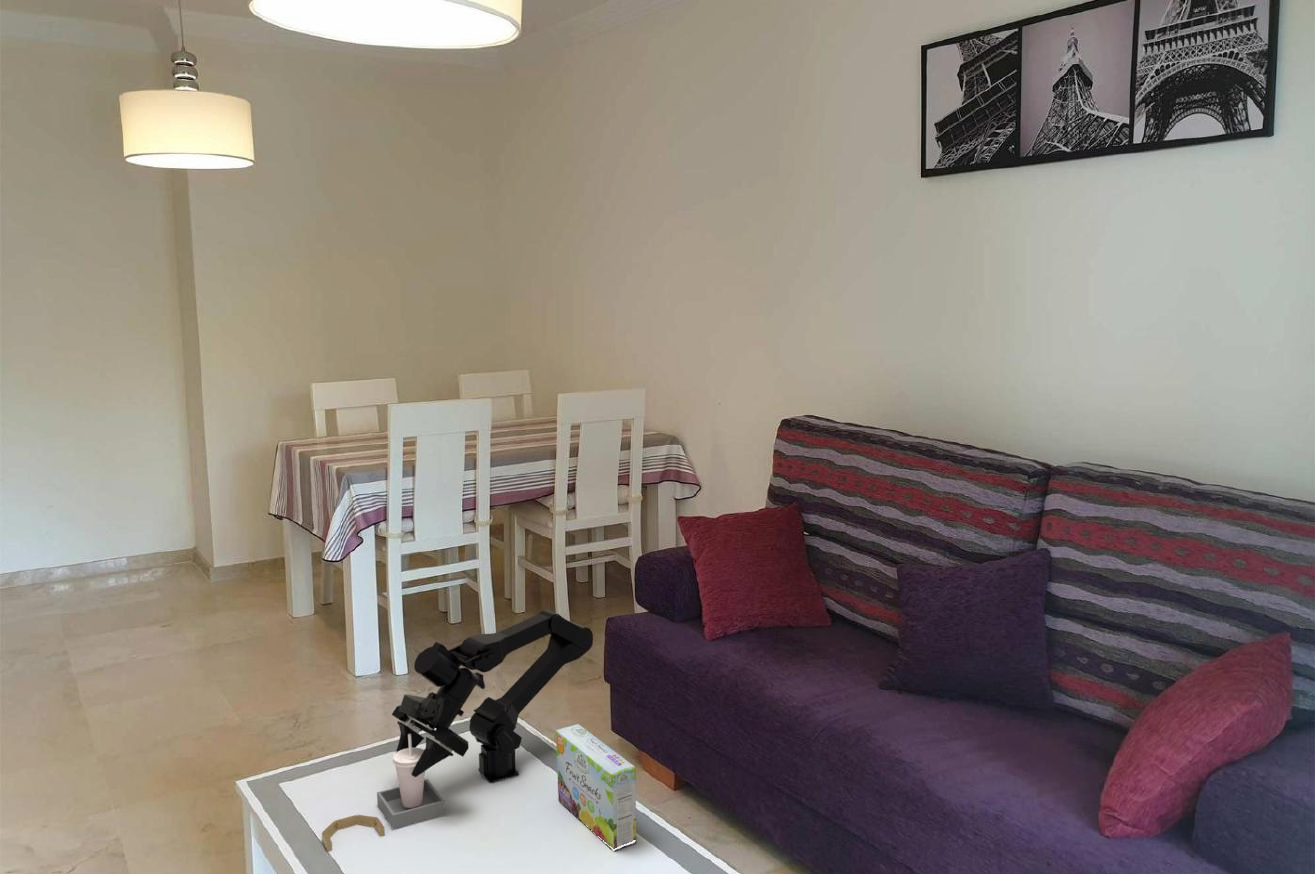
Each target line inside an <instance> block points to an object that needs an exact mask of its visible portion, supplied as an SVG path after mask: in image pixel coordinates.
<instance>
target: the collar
mask: <svg viewBox="0 0 1315 874" xmlns="http://www.w3.org/2000/svg"><path fill="white" fill-rule="evenodd" d="M357 824H358V825H357ZM356 825H357V826H365V827H373V828H375V830H376V831H377V833H378V834H379V836H380V837H383V836H385V835H386V834H385V833H386V832H385V830H386V829H385V826H384V825H383V822H382V821H381V820H380V818H379V817H376V816H372V815H371V816H369V815H362V814H354V815H351V816H347V817H343V818H339V819H336V820H334V821H332V822H331V824H329V825H328V826H327V827H326V828H324V830H323V831H322V832H321V839H322V840H321V841H322V843H324V844H323V845H324V848H325V849H326V852H330V850H331V851H333V843H332V840H331V837H332V836H333V835H334V834H335V833H336V832H337V831H338V830H343V829H346V828H350V827H354V826H356Z"/></svg>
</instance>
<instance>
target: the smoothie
mask: <svg viewBox="0 0 1315 874" xmlns="http://www.w3.org/2000/svg"><path fill="white" fill-rule="evenodd" d="M408 743H409V748H406V749H403V750H400V751H398V752H396V751H395V753H394V754H393V755H392V763H393V765H394V767H395V772H396V777H397V783H398V787H399V788H400V794H401V799H402V804H403V806H404V807H408V808H412V807H416V806H419V805H420V804H421V803H422V799H423V787H424V780H425V772H426V771H424V772H423V773H421V774H420V775H418V776H417V777H414V776H412V772H413V770H414V767H415V766H416V764H417V762H418V760H419V759H420V757H421V755H422V753H423V752H424V750H425V749H424V748H422V747H416V748H412V743H411V734H408Z"/></svg>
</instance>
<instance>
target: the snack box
mask: <svg viewBox="0 0 1315 874" xmlns="http://www.w3.org/2000/svg"><path fill="white" fill-rule="evenodd" d="M555 736H556V739H555V740H556V743H555V744H556V765H557V766H556V770H557V771H556V772H557V792H558V795H557V797H558V798H557V799H558V802H559V801H560V802H561V803H562V804H561V805H562V806H564V808H566V809H567V810H568V811H569V810H570V811H571V812H572V813H573V814H574V815H575V816H576V817H575V816H574V815H573V814H572V813H571V812H570V811H569V812H570V813H571V814H572V815H573V816H574V817H575V818H576V819H578V820H579V819H580V820H581V821H582V822H583V823H584V824H585V825H587V826H588V828H590V829H591V830H592V831H593V832H594V833H595V834H596V835H597V836H599V837H600V838H601V839H602V840H604V842H606V843H607V844H608V845H609V846H611V847H612V848H613V849H615V848H617V847H619V846H621V845H624V844H627V843H629V842H632V841H633V840H636V841H637V802H636V801H637V794H636V793H637V790H636V788H637V787H636V786H637V785H636V781H637V780H636V766H635V765H633V764H632V763H630V762H629V760H626V758H624V757H623V756H621V755H620V754H619V753H618V752H616V751H615V750H614V749H612V748H611V747H609V746H608V745H606V744H605V743H604V742H603V741H601V740H600V739H598V737H596V736H595V735H593V734H592V733H591V732H590V731H588V730H587V729H586V728H584V727H583V726H582V725H580V724H579V723H577V724H576V723H575V724H572V725H570V726H565V727H563V728H559V729H556V730H555ZM560 802H559V803H560ZM580 820H579V821H580ZM581 821H580V822H581ZM582 822H581V823H582ZM583 823H582V824H583ZM584 824H583V825H584ZM585 825H584V826H585ZM588 828H587V829H588ZM590 829H589V830H590ZM591 830H590V831H591ZM592 831H591V832H592ZM593 832H592V833H593ZM594 833H593V834H594ZM595 834H594V835H595ZM596 835H595V836H596ZM597 836H596V837H597Z"/></svg>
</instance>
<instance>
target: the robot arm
mask: <svg viewBox="0 0 1315 874" xmlns="http://www.w3.org/2000/svg"><path fill="white" fill-rule="evenodd" d="M548 635H550V636H549V640H548V644H547V648H546V649H545V650H544V652H543V653H542V654H541V655H540V656H539V657H538V658H537V659H536V661H534V663H532V665H530V667H529V668H528V669H527V670H526V671H525V672H524V673H523V674H522V675H521V676H520V677H519V678H518V679H517V680H516V682H514V683H513V685H512V686H511V687H509V689H508V690H506V692H505V693H504V694H503V695H502V696H501V697H499V698H496V699H494V698H492V697H489V696H487V697H485V698H484V700H483V701H482V702H481V704H480V705H479V706H478V707H477V708H475V709H474V710H473V712H474V713H473V715H471V717H470V719H469V725H468V726H469V731H470V734H471V735H472V736H473V737H474V738H475V741H476V742H477V743H480V744H481V745H480V752H479V754H478V769H477V770H478V772H479V774H481V775H482V777H484V778H485V780H486V781H488V783H495V782H498V781H502V780H507V779H509V778H514V777H517V776H519V775H520V772H519V771H518V770H517V769H516V750H517V749H519V748H520V747H521V743H522V739H523V738H522V736H521V735H519V733H517V732H515V729H516V727H517V723H518V720H519V716H520V713H522V711H523V710H524V709H525V708H526V707H527V706H528V705H529V704H530V702H532V700H533V699H534V698H535V697H536V696H537V695H538V694H539V693H540V692H541V691H542V689H544V687H545V686H546V685H547V684H549V682H550V681H551V680H552V678H554V676H556V674H557V673H558V672H559V671H560V670H561V669H562V668H563V666H565V665H568V664H571V663H572V662H574V661H577V660H579V659H581V658H582V657H583V656H584V655H585V654H586V653H588V652H589V651H590V650H591V648H592V646H593V644H594V643H593V642H594V634H593V632H592V630H591V628H589V627H587V626H584V625H581V624H579V623H576V622H572V621H571V620H570V621H569V620H568V619H566V618H565V617H563V616H562V615H561V614H559V613H556V612H553V611H551V610H548V609H544V610H541V611H540V612H538V614H536V615H534V616H532V617H528V618H526V619H525V620H522V621H520V622H518V623H516V624H514V625H511V626H509V627H507V628H505V629H502V630H500V631H498V632H494V633H480V634H476V635H473V636H469V637H467V638H466V639H464V640H463V641H462V643H460V644H458V645H456V646H454V647H452V648H450V649H448V648H447V647H446V646H445V645H444V644H443V643H440V642H438V641H435V642H434V643H433V645H432V646H430V647H427V648H425V649H424V650H423V651H422V652H419V653H418V655H417V657H416V658H415V661H414V665H413V667H414V671H415V672H416V673H417V674H418V675H420V676H421V677H422V678H424V679H425V680H427V681H428V682H429V683H431V684H433V686H435V687H437V688H438V690H437V691H436V692H433V691H431V692H430V693H428V695H427V696H426V697H422V696H418V695H412V694H404V695H403V697H402V701H401V703H400V704H399V705H397V706H396V707H395V709H394V710H393V712H391V715H392V716H393V717H394V718H396V719H397V725H398V728H399V730H400V735H399V741H398V745H397V747H396V751H395V753H396V752H398V751H400V750H403V749H406V748H409V743H408V734H411V743H412V748H418V746H419V745H420V743H422V741H423V740H424V739H425V749H424V752H423V753H422V755H421V757H420V759H419V760H418V762H417V764H416V766H415V767H414V770H413V772H412V776H414V777H417V776H418V775H420V774H421V773H423V772H424V771H425V772H427V770H429V769H430V768H431V767H433V766H435V765H436V764H438V763H440V762H441V761H443V760H445V759H447V758H448V757H453V756H454V753H455V754H457V755H458V756H461V757H462V758H464V757H465V755H466V753H467V751H468V750H469V748H470V747H469V741H468V740H466V739H465V738H463V737H462V736H460V735H459V734H458V733H456V732H455V731H453V730H452V729H450V727H451V725H452V724H453V722H454V721H455V719H456V718H457V716H459V717H463V715H464V713H465V711H463V710H462V708H463V707H464V705H465V703H466V702H467V700H468V698H469V697H470V695H471V694H472V692H473V691H474V689H475V688H476V687H477V688H479V689H482V690H484V689H485V688H486V684H485V679H484V674H483V673H488V672H490V671H491V670H494V668H496V667H498V666H499V665H500V664H502V663H503V662H504V660H505V659H506V657H507V656H508V655H509V654H511V653H513V652H515V651H517V650H519V649H521V648H523V647H525V646H527V645H529V644H531V643H533V642H536V641H538V640H540V639H542V638H545V637H546V636H548ZM461 666H462V667H461ZM460 667H461V668H460ZM475 670H476V672H473V671H475ZM477 671H479V672H477ZM480 672H481V673H480ZM420 732H424V733H426V734H428V735H430V736H432V737H433V739H431V738H430V737H427V736H426V737H424V736H423V735H421V734H420Z"/></svg>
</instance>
